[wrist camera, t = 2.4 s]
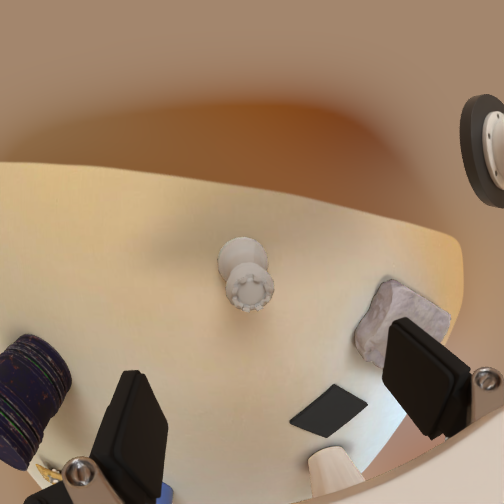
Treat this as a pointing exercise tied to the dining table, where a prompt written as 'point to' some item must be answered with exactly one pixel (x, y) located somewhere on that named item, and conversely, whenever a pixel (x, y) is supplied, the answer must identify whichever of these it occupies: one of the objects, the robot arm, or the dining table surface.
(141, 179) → the dining table surface
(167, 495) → the water bottle
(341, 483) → the cup
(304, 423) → the mat
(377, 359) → the stone block
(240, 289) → the rook chess piece
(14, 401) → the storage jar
